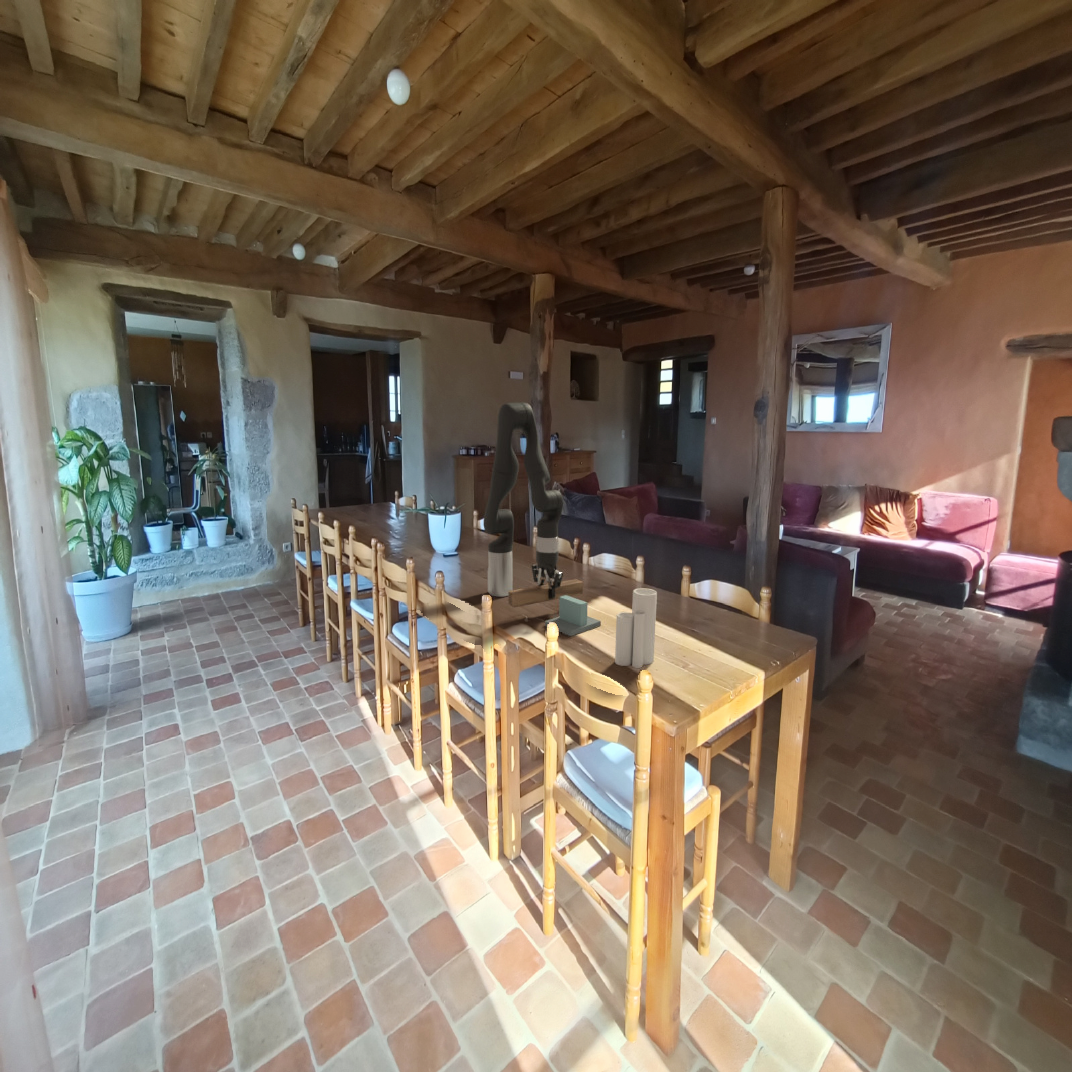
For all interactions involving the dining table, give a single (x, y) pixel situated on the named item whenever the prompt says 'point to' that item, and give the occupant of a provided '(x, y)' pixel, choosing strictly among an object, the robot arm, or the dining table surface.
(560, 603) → the stand
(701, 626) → the dining table surface
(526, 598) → the walnut rod
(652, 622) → the grey joined cylinders
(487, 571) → the robot arm
